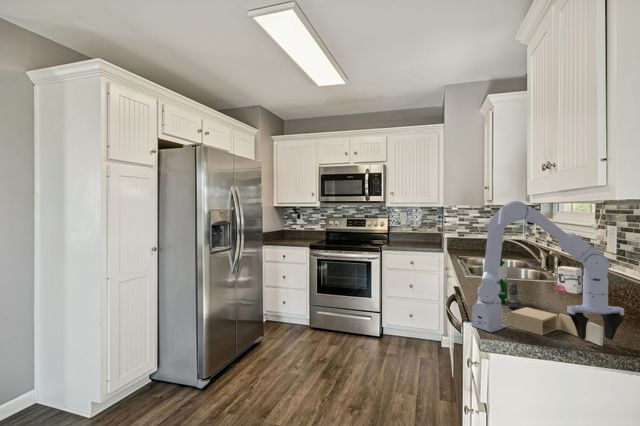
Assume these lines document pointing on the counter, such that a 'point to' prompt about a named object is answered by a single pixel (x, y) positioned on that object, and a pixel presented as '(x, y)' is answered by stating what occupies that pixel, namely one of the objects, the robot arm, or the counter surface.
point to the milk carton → (502, 279)
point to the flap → (592, 330)
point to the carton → (534, 320)
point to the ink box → (569, 279)
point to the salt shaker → (512, 297)
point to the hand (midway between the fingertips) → (595, 338)
